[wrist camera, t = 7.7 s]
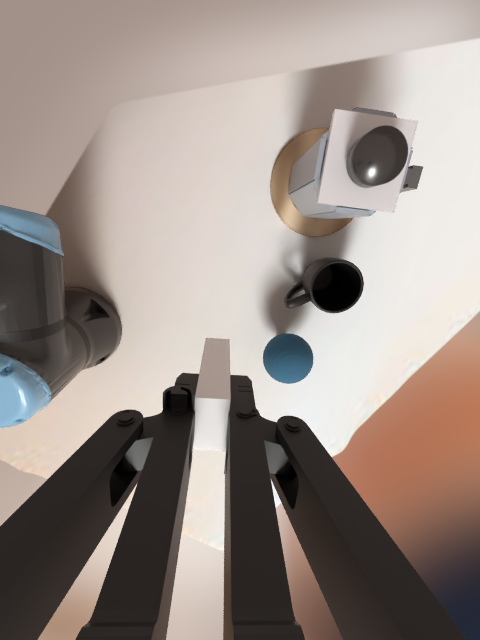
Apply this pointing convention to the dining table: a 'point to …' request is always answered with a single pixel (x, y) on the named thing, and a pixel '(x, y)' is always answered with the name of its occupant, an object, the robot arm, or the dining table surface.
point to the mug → (328, 286)
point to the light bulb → (288, 358)
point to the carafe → (334, 182)
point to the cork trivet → (281, 189)
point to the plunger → (376, 157)
